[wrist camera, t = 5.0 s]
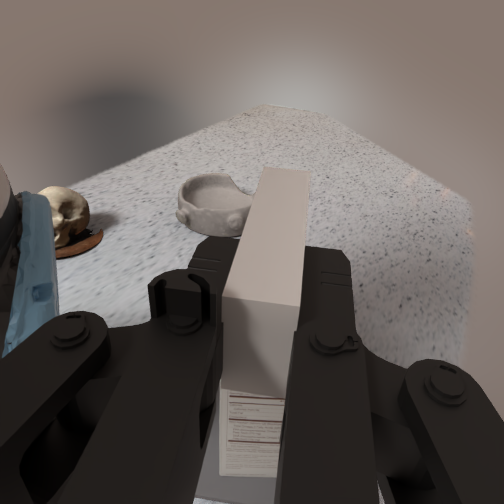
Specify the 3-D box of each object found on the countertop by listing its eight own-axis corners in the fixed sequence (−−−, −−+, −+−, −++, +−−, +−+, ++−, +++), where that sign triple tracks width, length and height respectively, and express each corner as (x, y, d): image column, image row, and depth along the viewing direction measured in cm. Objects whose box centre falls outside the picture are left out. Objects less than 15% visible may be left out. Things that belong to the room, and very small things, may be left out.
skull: (57, 269, 53) (3, 201, 51) (31, 290, 60) (-17, 231, 58) (124, 226, 62) (80, 167, 60) (95, 249, 69) (55, 197, 67)
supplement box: (222, 399, 39) (224, 292, 32) (302, 402, 39) (321, 297, 32) (216, 479, 33) (216, 369, 26) (311, 482, 33) (337, 374, 26)
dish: (204, 192, 76) (204, 166, 73) (275, 210, 72) (278, 183, 69) (157, 228, 65) (155, 198, 62) (238, 252, 60) (239, 221, 58)
